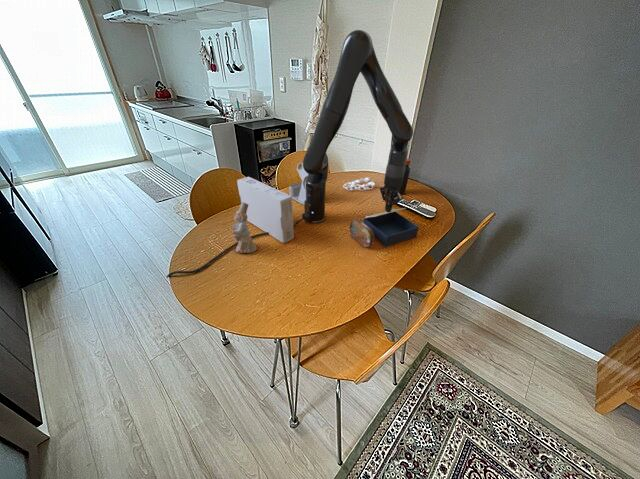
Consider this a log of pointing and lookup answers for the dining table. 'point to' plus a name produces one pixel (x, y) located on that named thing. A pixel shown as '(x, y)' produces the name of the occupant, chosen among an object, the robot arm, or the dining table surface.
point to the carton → (391, 228)
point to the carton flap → (384, 212)
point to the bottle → (405, 178)
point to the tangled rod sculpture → (357, 182)
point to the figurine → (242, 231)
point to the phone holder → (299, 186)
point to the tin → (362, 233)
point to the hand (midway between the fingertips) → (387, 211)
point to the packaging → (267, 208)
